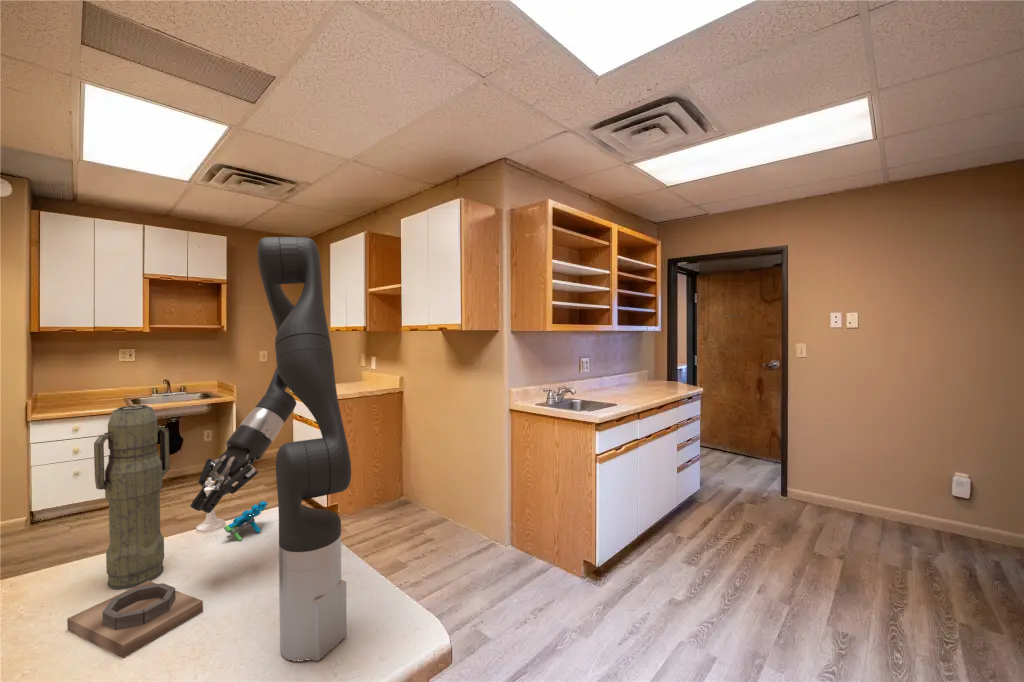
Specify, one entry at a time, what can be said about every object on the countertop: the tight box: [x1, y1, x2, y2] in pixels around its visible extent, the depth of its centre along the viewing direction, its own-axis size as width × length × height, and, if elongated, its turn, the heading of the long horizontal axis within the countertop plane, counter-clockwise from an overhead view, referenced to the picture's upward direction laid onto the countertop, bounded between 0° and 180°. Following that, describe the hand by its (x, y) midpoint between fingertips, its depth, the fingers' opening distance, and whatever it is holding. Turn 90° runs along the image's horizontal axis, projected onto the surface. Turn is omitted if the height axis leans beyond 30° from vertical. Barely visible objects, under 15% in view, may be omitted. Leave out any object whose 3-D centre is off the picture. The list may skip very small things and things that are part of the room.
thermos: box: [93, 404, 171, 590], centre depth 89 cm, size 9×12×35 cm
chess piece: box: [195, 477, 227, 535], centre depth 87 cm, size 5×5×10 cm
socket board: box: [66, 581, 204, 659], centre depth 76 cm, size 16×12×4 cm
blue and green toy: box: [223, 500, 269, 542], centre depth 109 cm, size 11×6×10 cm
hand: (199, 509), depth 85 cm, fingers closed on chess piece
